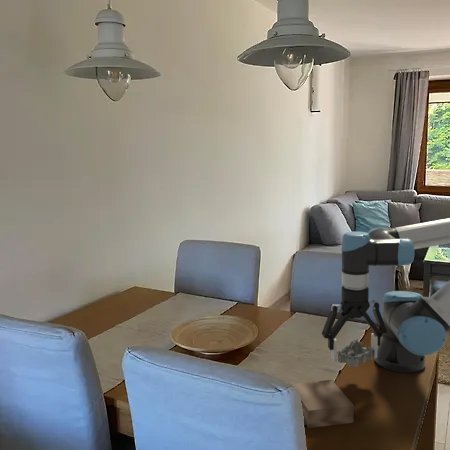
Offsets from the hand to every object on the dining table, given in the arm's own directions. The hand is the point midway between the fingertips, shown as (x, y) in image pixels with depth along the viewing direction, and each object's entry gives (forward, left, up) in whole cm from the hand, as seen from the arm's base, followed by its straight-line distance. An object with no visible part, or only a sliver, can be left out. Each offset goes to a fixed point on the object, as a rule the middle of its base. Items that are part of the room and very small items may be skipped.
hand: (354, 357), depth 148 cm
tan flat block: (+14, +14, -8) cm, 22 cm away
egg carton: (0, 0, -1) cm, 1 cm away
